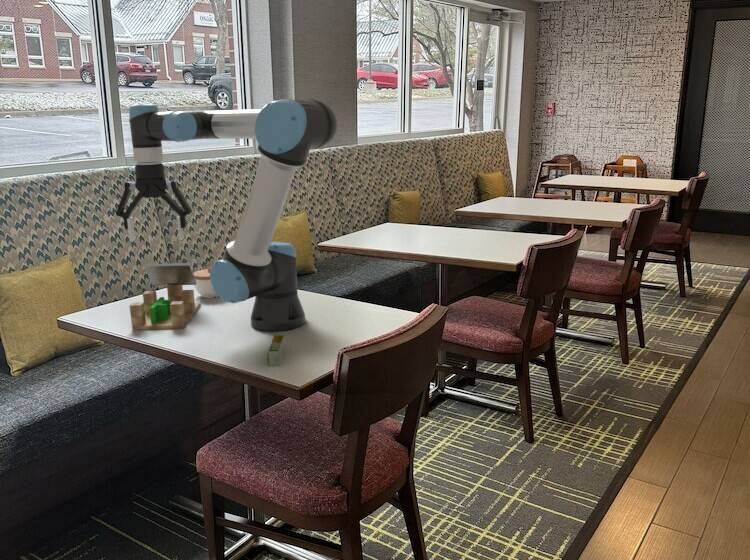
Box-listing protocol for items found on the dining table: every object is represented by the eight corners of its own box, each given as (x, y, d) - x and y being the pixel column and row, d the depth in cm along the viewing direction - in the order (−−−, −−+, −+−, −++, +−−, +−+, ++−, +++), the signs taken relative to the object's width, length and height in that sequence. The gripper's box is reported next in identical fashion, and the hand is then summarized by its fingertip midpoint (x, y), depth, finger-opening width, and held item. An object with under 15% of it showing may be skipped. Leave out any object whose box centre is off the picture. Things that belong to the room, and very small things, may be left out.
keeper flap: (195, 285, 207) (196, 282, 207) (189, 265, 200) (190, 262, 200) (152, 286, 206) (153, 283, 207) (145, 266, 199) (145, 263, 200)
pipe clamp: (164, 323, 190) (163, 307, 189) (151, 323, 190) (149, 308, 189) (174, 311, 201) (173, 296, 200) (161, 311, 201) (160, 296, 200)
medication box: (279, 367, 160) (278, 350, 159) (267, 367, 160) (267, 351, 159) (284, 349, 172) (284, 334, 171) (273, 349, 172) (273, 334, 171)
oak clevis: (200, 305, 210) (198, 283, 208) (183, 328, 189) (180, 304, 187) (154, 306, 210) (152, 285, 208) (132, 329, 188) (129, 305, 187)
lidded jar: (224, 299, 216) (222, 271, 214) (191, 300, 216) (188, 271, 214) (231, 290, 226) (229, 263, 224) (198, 291, 226) (196, 264, 224)
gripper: (198, 161, 188) (204, 236, 194) (107, 163, 188) (116, 238, 193) (192, 163, 181) (198, 241, 186) (97, 165, 181) (107, 244, 186)
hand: (157, 240), depth 190 cm, fingers open, 13 cm apart
